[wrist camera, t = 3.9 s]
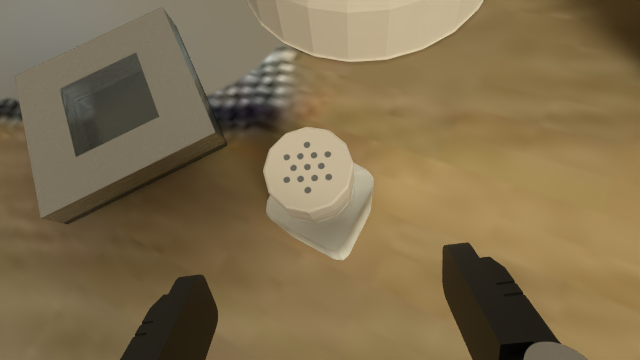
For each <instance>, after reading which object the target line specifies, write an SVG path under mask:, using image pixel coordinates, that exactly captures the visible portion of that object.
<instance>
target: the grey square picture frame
mask: <svg viewBox="0 0 640 360" xmlns="http://www.w3.org/2000/svg"><path fill="white" fill-rule="evenodd" d="M15 80H16V86H17V91H18V97H19V102H20V108H21V113H22V119H23V124H24V130H25V135H26V140H27V146H28V151H29V157H30V162H31V168H32V173H33V179H34V184H35V190H36V195H37V200H38V206H39V211H40V217H41V218H42V219H47V220H51V221H56V222H60V223H65V224H69V223H71V222H73V221H75V220H77V219H79V218H81V217H83V216H85V215H87V214H89V213H91V212H93V211H95V210H97V209H99V208H101V207H103V206H105V205H107V204H109V203H111V202H113V201H115V200H117V199H119V198H121V197H124V196H126V195H128V194H130V193H132V192H134V191H136V190H138V189H140V188H142V187H144V186H146V185H148V184H150V183H152V182H154V181H156V180H158V179H160V178H162V177H164V176H166V175H168V174H170V173H172V172H174V171H176V170H178V169H180V168H182V167H184V166H186V165H188V164H190V163H192V162H194V161H196V160H198V159H200V158H202V157H204V156H206V155H208V154H210V153H212V152H215V151H217V150H219V149H221V148H223V147H225V146H227V143H226V141H225V139H224V136H223V134H222V132H221V129H220V127H219V125H218V122H217V120H216V118H215V115H214V113H213V111H212V108H211V106H210V104H209V101H208V99H207V97H206V94H205V92H204V90H203V87H202V85H201V83H200V81H199V78H198V76H197V74H196V71H195V69H194V67H193V64H192V62H191V60H190V57H189V55H188V53H187V50H186V48H185V46H184V43H183V41H182V39H181V37H180V34H179V32H178V29H177V27H176V25H175V24H174V23H173V21H172V20H171V18H170V17H169V16H168V14H167V13H166V11H165V10H164V8H163V7H161V8H159V9H157V10H154V11H152V12H150V13H148V14H146V15H144V16H142V17H140V18H138V19H136V20H133V21H131V22H129V23H127V24H125V25H123V26H121V27H118V28H116V29H114V30H112V31H110V32H108V33H106V34H104V35H101V36H99V37H97V38H95V39H93V40H91V41H89V42H87V43H85V44H83V45H80V46H78V47H76V48H74V49H72V50H70V51H68V52H66V53H63V54H61V55H59V56H57V57H55V58H53V59H51V60H48V61H46V62H44V63H42V64H40V65H38V66H36V67H34V68H31V69H29V70H27V71H25V72H23V73H21V74H19V75H17V76H15Z"/></svg>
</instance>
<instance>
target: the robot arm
mask: <svg viewBox="0 0 640 360" xmlns="http://www.w3.org/2000/svg"><path fill="white" fill-rule="evenodd" d="M442 282H443V289H444V294H445V297H446V300H447V303H448V305H449V307H450V309H451V312H452V314H453V316H454V318H455V321H456V323H457V325H458V327H459V330H460V332H461V334H462V337H463V339H464V341H465V343H466V346H467V348H468V350H469V352H470V355H471V357H472V359H473V360H588V359H587V358H585V357H584V356H583V355H582V354H580V353H579V352H577V351H575V350H574V349H572V348H570V347H568V346H565V345H562V344H561V343H560V342H559V341H558V340H557V338H556V337H555V336H554V334H553V333H552V331H551V330H550V329H549V327H548V326H547V325H546V323H545V322H544V320H543V319H542V318H541V316H540V315H539V314H538V312H537V311H536V310H535V308H534V307H533V305H532V304H531V303H530V301H529V300H528V299H527V297H526V296H525V295H523V292H522V290H521V289H520V288H519V286H518V285H517V284H515V281H514V279H513V278H512V277H511V275H510V274H509V273H508V271H507V270H506V268H505V267H503V266H502V265H501V264H499V263H498V262H496V261H495V260H493V259H492V258H491V257H483V258H479V257H478V255H477V254H476V252H475V251H474V249H473V247H472V246H471V245H470V244H469V243H459V244H451V245H444V246H443V267H442ZM217 322H218V310H217V306H216V304H215V301H214V299H213V296H212V294H211V291H210V289H209V287H208V284H207V282H206V279H205V277H204V276H203V275H193V276H185V277H179V278H178V279H177V280H176V281H175V283H174V285H173V286H172V288H171V290H170V292H169V294H167V295H163V296H162V297H161V298H160V299H159V300H158V301H157V302H156V303H155V304H154V305H153V306H152V307H151V308H150V309H149V311H148V313H147V315H146V316H145V318H144V320H143V321H142V325H140V327H139V328H138V330H137V332H136V333H135V337H133V338H132V340H131V342H130V344H129V345H128V347H127V349H126V350H125V352H124V354H123V356H122V357H121V359H120V360H205V359H206V356H207V353H208V350H209V347H210V344H211V341H212V338H213V335H214V332H215V329H216V326H217Z"/></svg>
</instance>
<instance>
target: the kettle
mask: <svg viewBox="0 0 640 360" xmlns="http://www.w3.org/2000/svg"><path fill="white" fill-rule="evenodd" d="M482 2H483V0H247V3H248V5H249V7H250V8H251V9H252V11H253V13H254V14H255V16H256V18H257V19H258V20H259V22H260V24H261V25H262V26H263V27H265V28H266V29H267V30H268V31H269V32H271V33H272V34H273V35H274V36H275V37H277V38H278V39H279V40H280V41H281V42H283V43H284V44H287V45H289V46H291V47H294V48H296V49H298V50H301V51H303V52H305V53H307V54H310V55H312V56H316V57H322V58H328V59H334V60H340V61H346V62H354V61H372V60H387V59H390V58H394V57H397V56H401V55H404V54H408V53H411V52H415V51H419V50H422V49H424V48H426V47H428V46H430V45H431V44H433V43H435V42H437V41H439V40H440V39H442V38H444V37H446V36H448V35H450V34H451V33H453V32H455V31H456V30H457V29H458V28H459V27H460V26H461V25H462V24H463V23H464V22H465V21H466V20H467V19H469V18H470V17H471V16H472V15H473V14H474V13H475V12H476V11H477V10H478V9H479V7H480V6H481V4H482Z"/></svg>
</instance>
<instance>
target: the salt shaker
mask: <svg viewBox="0 0 640 360" xmlns="http://www.w3.org/2000/svg"><path fill="white" fill-rule="evenodd" d="M263 174H264V177H265V181H266V185H267V189H268V193H269V194H270V196H269V198H268V200H267V207H266V214H267V215H268V216H269V218H270V219H271V220H272V221H273V222H274V223H276V224H277V225H278V226H280V227H281V228H282V229H284V230H285V231H286V232H287V233H289V234H290V235H291V236H293V237H294V238H296V239H298V240H300V241H302V242H303V243H305V244H307V245H309V246H311V247H313V248H315V249H316V250H318V251H320V252H322V253H324V254H326V255H328V256H329V257H331V258H333V259H335V260H344V259H345V258H346V257H347V256H348V255H349V254H350V252H351V250H352V248H353V246H354V244H355V242H356V240H357V238H358V236H359V234H360V232H361V230H362V228H363V226H364V224H365V222H366V220H367V218H368V216H369V214H370V210H371V202H372V195H373V187H374V178H373V177H372V175H371V174H370V173H369V172H368V171H367V170H366V169H364V168H363V167H361V166H359V165H357V164H355V163H353V161H352V158H351V155H350V153H349V150H348V147H347V144H346V143H345V142H343V141H342V140H341V139H340V138H338V137H337V136H336V135H335V134H333V133H332V132H331V131H330V130H325V129H319V128H313V127H304V128H301V129H297V130H294V131H291V132H288V133H285V134H284V135H283V136H282V137H281V138H280V139H279V140H278V141H277V142H276V143H275V144H274V145H273V146H272V147H271V148H270V149H269V152H268V155H267V159H266V162H265V165H264V169H263Z"/></svg>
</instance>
